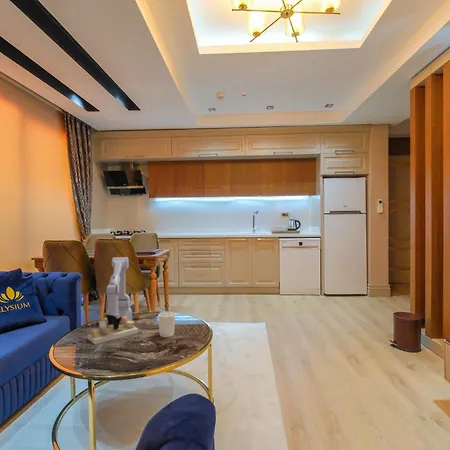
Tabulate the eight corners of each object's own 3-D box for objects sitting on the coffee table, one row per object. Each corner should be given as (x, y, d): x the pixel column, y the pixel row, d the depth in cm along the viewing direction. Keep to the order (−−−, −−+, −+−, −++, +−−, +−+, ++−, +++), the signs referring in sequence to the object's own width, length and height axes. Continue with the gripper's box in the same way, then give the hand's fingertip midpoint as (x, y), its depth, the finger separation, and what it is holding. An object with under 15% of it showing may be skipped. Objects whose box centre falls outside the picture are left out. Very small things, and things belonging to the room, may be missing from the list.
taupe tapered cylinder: (105, 326, 186) (105, 319, 185) (108, 328, 183) (107, 321, 183) (98, 328, 183) (98, 321, 183) (101, 329, 180) (100, 322, 180)
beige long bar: (131, 325, 197) (131, 320, 197) (134, 327, 193) (134, 322, 193) (91, 335, 181) (91, 329, 181) (94, 338, 177) (94, 331, 177)
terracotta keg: (125, 321, 194) (125, 315, 194) (128, 323, 191) (128, 316, 190) (118, 323, 191) (118, 316, 191) (121, 324, 188) (121, 318, 188)
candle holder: (177, 331, 192) (176, 312, 192) (172, 337, 182) (172, 317, 182) (161, 331, 193) (161, 311, 193) (156, 337, 183) (155, 317, 183)
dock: (130, 328, 200) (130, 323, 200) (138, 332, 191) (138, 328, 191) (87, 338, 182) (87, 334, 182) (94, 344, 174) (94, 339, 174)
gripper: (101, 303, 189) (102, 326, 190) (111, 308, 178) (111, 332, 179) (113, 301, 194) (113, 323, 194) (123, 306, 183) (123, 329, 183)
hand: (113, 327), depth 187 cm, fingers open, 7 cm apart
